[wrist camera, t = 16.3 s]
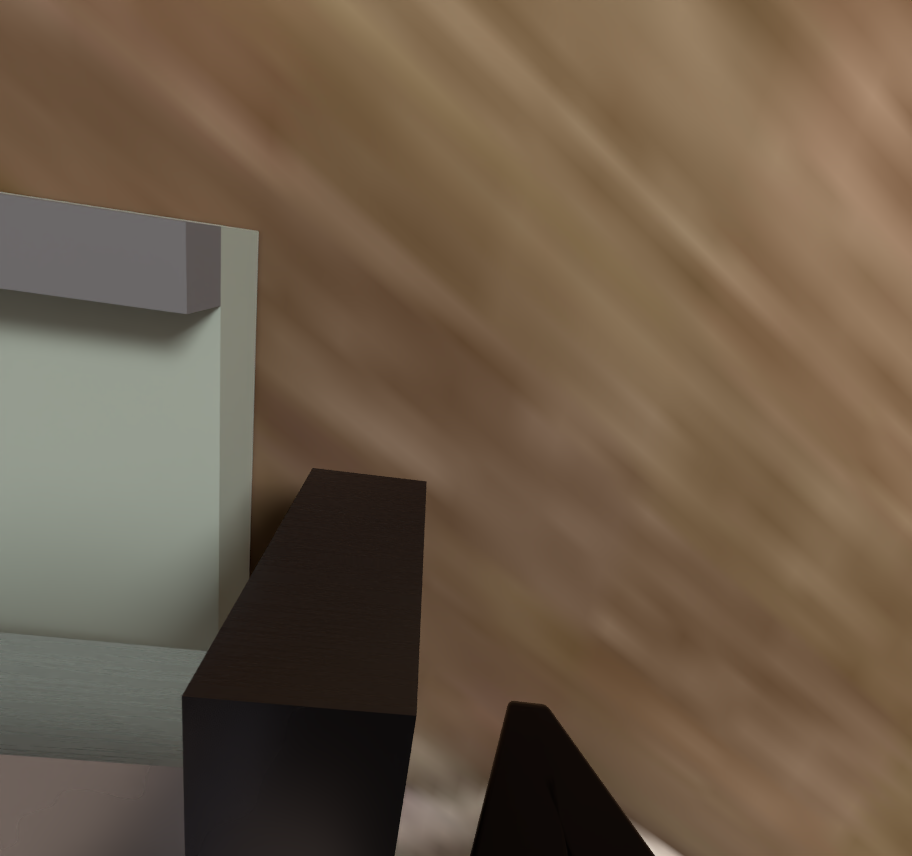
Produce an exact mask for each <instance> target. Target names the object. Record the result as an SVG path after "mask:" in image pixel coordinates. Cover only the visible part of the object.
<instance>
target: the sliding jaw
mask: <svg viewBox="0 0 912 856" xmlns="http://www.w3.org/2000/svg"><path fill="white" fill-rule="evenodd" d="M425 504H426V481H417V480H409V479H401V478H392V477H384V476H375V475H367V474H358V473H350V472H341V471H333V470H324V469H316V468H312V470H311V472H310V474H309V475H308V477H307V479H306V481H305V482H304V484H303V486H302V488H301V489H300V491H299V493H298V495H297V496H296V498H295V500H294V502H293V503H292V505H291V507H290V508H289V510H288V512H287V514H286V515H285V517H284V519H283V521H282V522H281V524H280V526H279V528H278V529H277V531H276V533H275V535H274V536H273V538H272V540H271V542H270V543H269V545H268V547H267V549H266V550H265V552H264V554H263V555H262V557H261V559H260V561H259V562H258V564H257V566H256V568H255V569H254V571H253V573H252V575H251V576H250V578H249V580H248V582H247V583H246V585H245V587H244V589H243V590H242V592H241V594H240V596H239V597H238V599H237V601H236V602H235V604H234V606H233V608H232V609H231V611H230V613H229V615H228V616H227V618H226V620H225V622H224V623H223V625H222V627H221V629H220V630H219V632H218V634H217V636H216V637H215V639H214V641H213V643H212V644H211V646H210V648H209V649H208V651H201V650H190V649H179V648H168V647H157V646H146V645H134V644H123V643H112V642H101V641H90V640H79V639H68V638H57V637H45V636H34V635H23V634H12V633H1V632H0V856H395V850H396V843H397V837H398V830H399V824H400V818H401V811H402V805H403V798H404V792H405V786H406V779H407V773H408V766H409V760H410V753H411V747H412V741H413V734H414V728H415V721H416V713H417V689H418V666H419V643H420V620H421V597H422V573H423V550H424V527H425Z"/></svg>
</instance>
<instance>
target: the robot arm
mask: <svg viewBox="0 0 912 856" xmlns="http://www.w3.org/2000/svg"><path fill="white" fill-rule="evenodd" d="M470 856H655V855H654V854H653V852H652V851H651V850H650V848H649V847H648V846H647V844H646V843H645V841H644V840H643V839H642V837H641V836H640V834H639V833H638V832H637V830H636V829H635V827H634V826H633V825H632V823H631V822H630V820H629V819H628V818H627V816H626V815H625V813H624V812H623V811H622V809H621V808H620V806H619V805H618V804H617V802H616V801H615V799H614V798H613V797H612V795H611V794H610V793H609V791H608V790H607V788H606V787H605V786H604V784H603V783H602V781H601V780H600V779H599V777H598V776H597V774H596V773H595V772H594V770H593V769H592V767H591V766H590V765H589V763H588V762H587V760H586V759H585V758H584V756H583V755H582V753H581V752H580V751H579V749H578V748H577V747H576V745H575V744H574V742H573V741H572V740H571V738H570V737H569V735H568V734H567V733H566V731H565V730H564V728H563V727H562V726H561V724H560V723H559V721H558V720H557V719H556V717H555V716H554V714H553V713H552V712H551V710H550V709H549V708H548V707H547V706H546V705H543V704H536V703H527V702H518V701H511V702H509V704H508V706H507V710H506V714H505V718H504V722H503V726H502V730H501V734H500V738H499V742H498V746H497V750H496V754H495V758H494V762H493V766H492V770H491V774H490V778H489V782H488V786H487V790H486V794H485V798H484V802H483V806H482V810H481V814H480V818H479V822H478V826H477V830H476V834H475V838H474V842H473V846H472V850H471V854H470Z"/></svg>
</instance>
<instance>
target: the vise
mask: <svg viewBox="0 0 912 856" xmlns="http://www.w3.org/2000/svg"><path fill="white" fill-rule="evenodd" d="M258 239H259V231H255V230H248V229H241V228H235V227H228V226H222V225H215V224H208V223H202V222H195V221H189V220H182V219H176V218H169V217H162V216H156V215H149V214H143V213H136V212H129V211H123V210H116V209H110V208H103V207H96V206H90V205H83V204H77V203H70V202H63V201H57V200H50V199H44V198H37V197H31V196H24V195H17V194H11V193H4V192H0V632H1V633H12V634H23V635H34V636H45V637H57V638H68V639H79V640H90V641H101V642H112V643H123V644H134V645H146V646H157V647H168V648H179V649H190V650H201V651H208V649H209V648H210V646H211V644H212V643H213V641H214V639H215V637H216V636H217V634H218V632H219V630H220V629H221V627H222V625H223V623H224V622H225V620H226V618H227V616H228V615H229V613H230V611H231V609H232V608H233V606H234V604H235V602H236V601H237V599H238V597H239V596H240V594H241V592H242V590H243V589H244V587H245V585H246V583H247V582H248V580H249V568H250V532H251V495H252V458H253V422H254V385H255V348H256V312H257V275H258Z"/></svg>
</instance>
